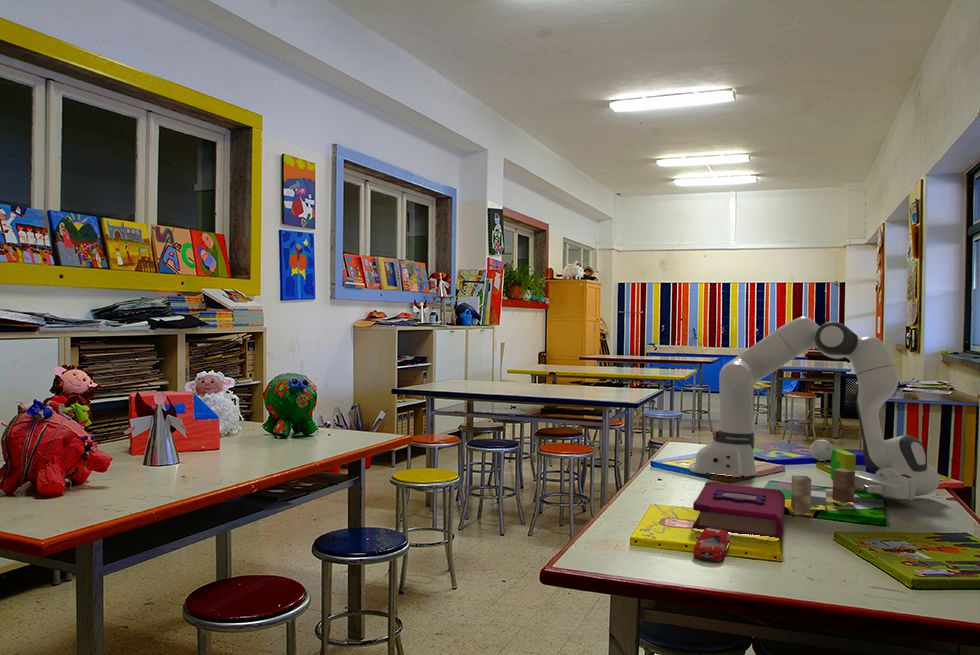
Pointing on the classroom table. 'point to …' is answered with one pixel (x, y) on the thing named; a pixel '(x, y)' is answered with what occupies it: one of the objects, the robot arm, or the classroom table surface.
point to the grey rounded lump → (821, 450)
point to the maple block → (801, 494)
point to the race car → (711, 544)
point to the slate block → (818, 498)
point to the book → (740, 509)
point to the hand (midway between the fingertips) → (853, 485)
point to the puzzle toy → (848, 460)
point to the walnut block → (843, 485)
